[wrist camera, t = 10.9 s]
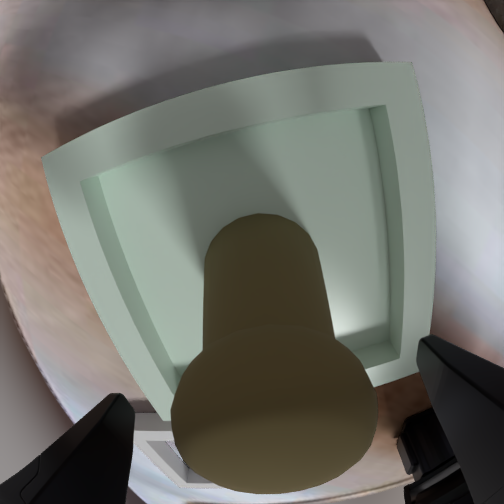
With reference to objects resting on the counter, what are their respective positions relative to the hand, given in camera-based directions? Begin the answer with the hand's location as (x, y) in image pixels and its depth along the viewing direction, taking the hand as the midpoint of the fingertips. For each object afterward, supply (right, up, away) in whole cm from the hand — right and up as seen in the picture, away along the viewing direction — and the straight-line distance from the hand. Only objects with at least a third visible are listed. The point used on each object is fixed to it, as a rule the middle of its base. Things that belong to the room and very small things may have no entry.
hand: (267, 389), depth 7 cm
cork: (0, +3, +8) cm, 8 cm away
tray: (0, +3, +8) cm, 9 cm away
